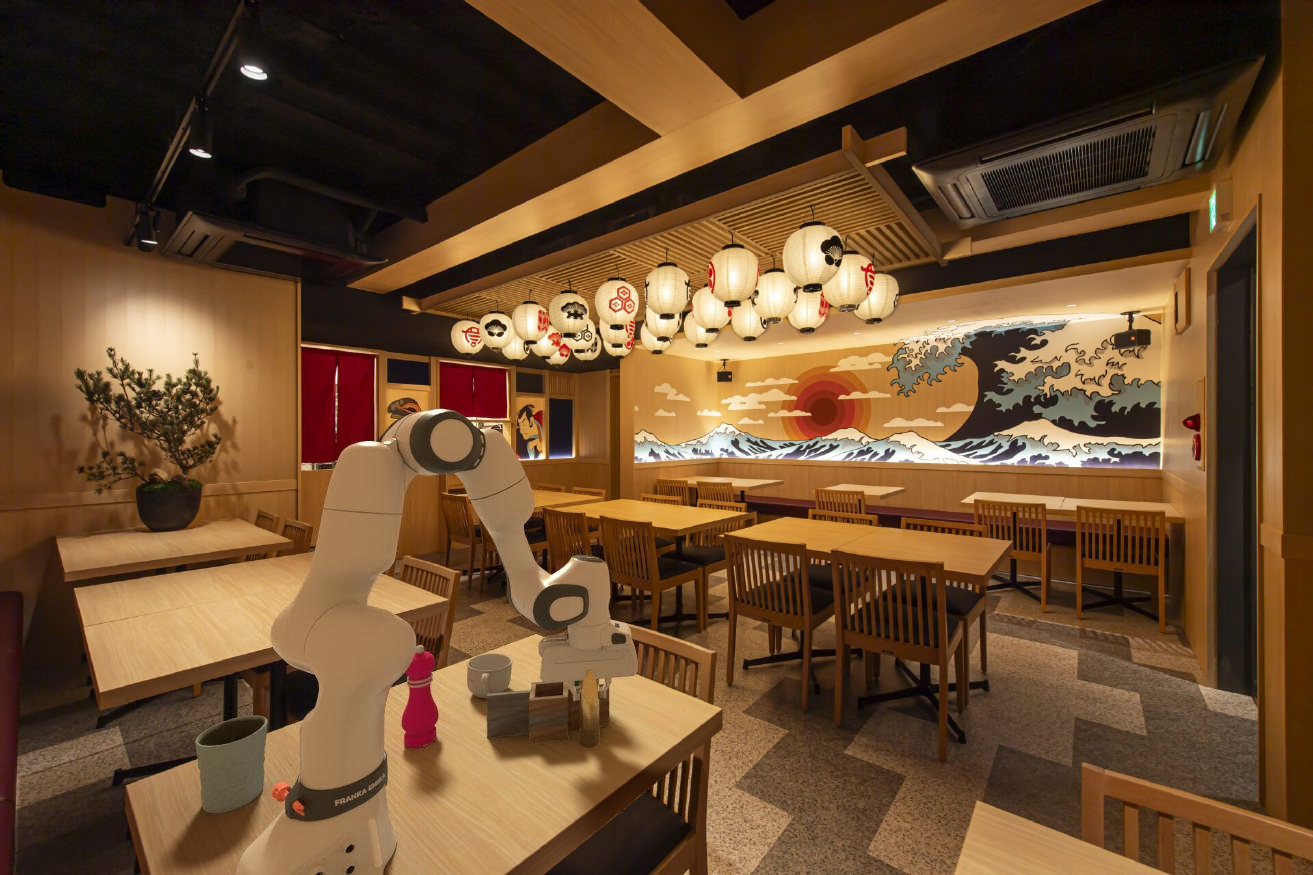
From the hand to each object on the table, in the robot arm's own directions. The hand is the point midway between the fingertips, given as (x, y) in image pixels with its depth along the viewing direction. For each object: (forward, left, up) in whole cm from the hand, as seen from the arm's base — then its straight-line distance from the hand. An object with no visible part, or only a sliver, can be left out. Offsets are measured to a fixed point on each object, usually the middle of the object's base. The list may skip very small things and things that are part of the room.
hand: (589, 698), depth 111 cm
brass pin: (0, 0, -9) cm, 9 cm away
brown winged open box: (-2, +10, -9) cm, 14 cm away
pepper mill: (-20, +30, -9) cm, 37 cm away
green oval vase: (-49, +41, -9) cm, 65 cm away
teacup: (0, +34, -9) cm, 35 cm away
